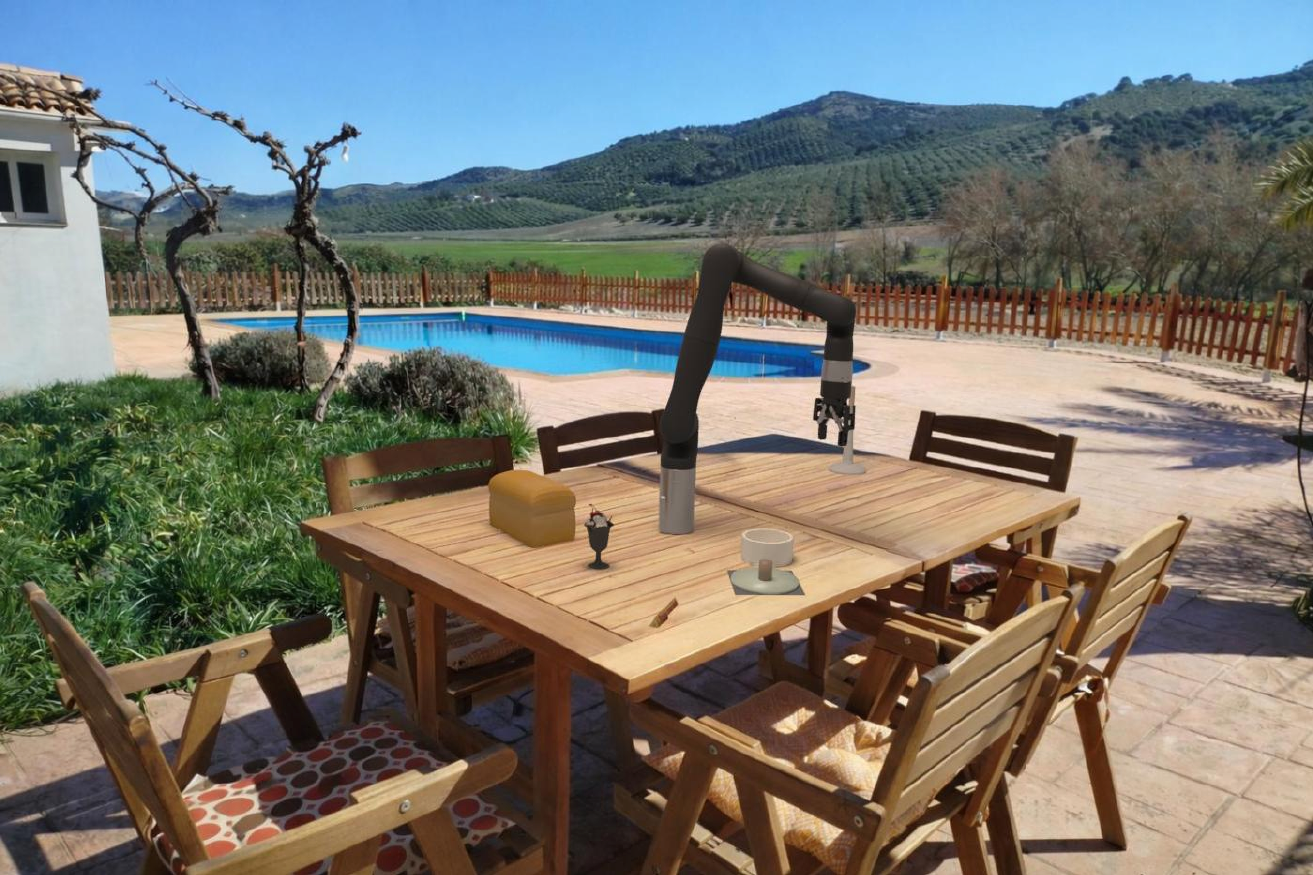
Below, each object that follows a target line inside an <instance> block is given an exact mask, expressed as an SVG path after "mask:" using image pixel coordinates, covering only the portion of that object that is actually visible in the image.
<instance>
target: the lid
mask: <svg viewBox="0 0 1313 875" xmlns="http://www.w3.org/2000/svg"><path fill="white" fill-rule="evenodd" d="M772 564H773V562H772V561H771V560H767V559H762V560H759V566H755V567H746V568H742V569H741V568H740V569H738V571H736V572H734V573H733V574H732V575H731V581H730V584H731V583H732V584H733V585H734V586H735V587H737V588H738V589H741V590H743V591H746V592H750V593H756V594H764V595H763V596H778V595H777V594H785V593H789V592H792V591H794V590H796V589H797V588H798V587H799V584H800V579H799V577H798V576H796V575H795V574H794V573H793V574H794V575H793V574H791V573H789V572H787V571H788V570H783V569H780V568H779V569H778V568H775V567H772ZM732 584H731V585H732Z"/></svg>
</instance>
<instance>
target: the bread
mask: <svg viewBox="0 0 1313 875" xmlns="http://www.w3.org/2000/svg"><path fill="white" fill-rule="evenodd" d="M487 488H488V493H489V498H488V500H489V501H488V517H489V522H490V525H491V527H493V526H494V527H493V528H495V529H497V530H498V529H500V530H501V532H502V531H503V532H502V533H504V532H505V533H504V534H505V535H507V534H508V536H509V535H510V536H509V537H511V538H513V539H515V540H516V541H518V542H520V543H522V544H524V545H526V546H527V547H529V548H532V549H537V548H541V547H547V546H548V547H549V546H552V545H558V544H562V543H568V542H572V541H574V538H575V536H576V511H575V507H576V503H577V498H576V494H575V493H574V491H573V490H572V489H570V487H568V486H566V485H564V484H562V483H560V482H558V481H555V480H553V479H551V478H548V477H546V476H544V475H541V474H538V473H536V472H533V471H530V470H526V469H511V470H507V471H504V472H500V473H498V474H496V475H494V476H493V477H491V478H490V479H489V482H488V485H487ZM500 530H499V531H500Z"/></svg>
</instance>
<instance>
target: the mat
mask: <svg viewBox="0 0 1313 875" xmlns="http://www.w3.org/2000/svg"><path fill="white" fill-rule="evenodd" d="M738 570H739V569H738ZM738 570H733V569H732V570H726V572H727V575H728V578H729V581H730V584H731V586H732V590H733V592H734V595H735V596H765V595H764V594H756V593H750V592H746V591H743V590H741V589H738V588H737V587H735V586H734V585H733V584H732V583H731V575H732V574H733V573H734V572H736V571H738ZM786 571H787V572H789V573H791V574H793V575H795V574H794V572H793V571H792V570H786ZM776 596H806V593H805V591H804V590H803V588H802V587H801V585H800V583H799V587H798V588H797V589H796V590H794V591H792V592H789V593H785V594H777V595H776Z"/></svg>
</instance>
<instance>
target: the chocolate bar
mask: <svg viewBox="0 0 1313 875" xmlns="http://www.w3.org/2000/svg"><path fill="white" fill-rule="evenodd" d="M678 605H679V602H678V600H677V598H676V597H674V598H673V599H672V600H670V601H669V603H667V605H666V606H664V608H663V609H662V610H660V611H659V613H658V614H657V615H655V617H653V619H652V621H651V622H650V623H649V625H648V627H653V628H657V629H660V628H661V626H662V625H663V624H665V622H666V621H667V620H668V619H669V617H668V616H669V615H670V614H671V613H672V612H673V611H674V610H675V609H676V608H677V607H678Z"/></svg>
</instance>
